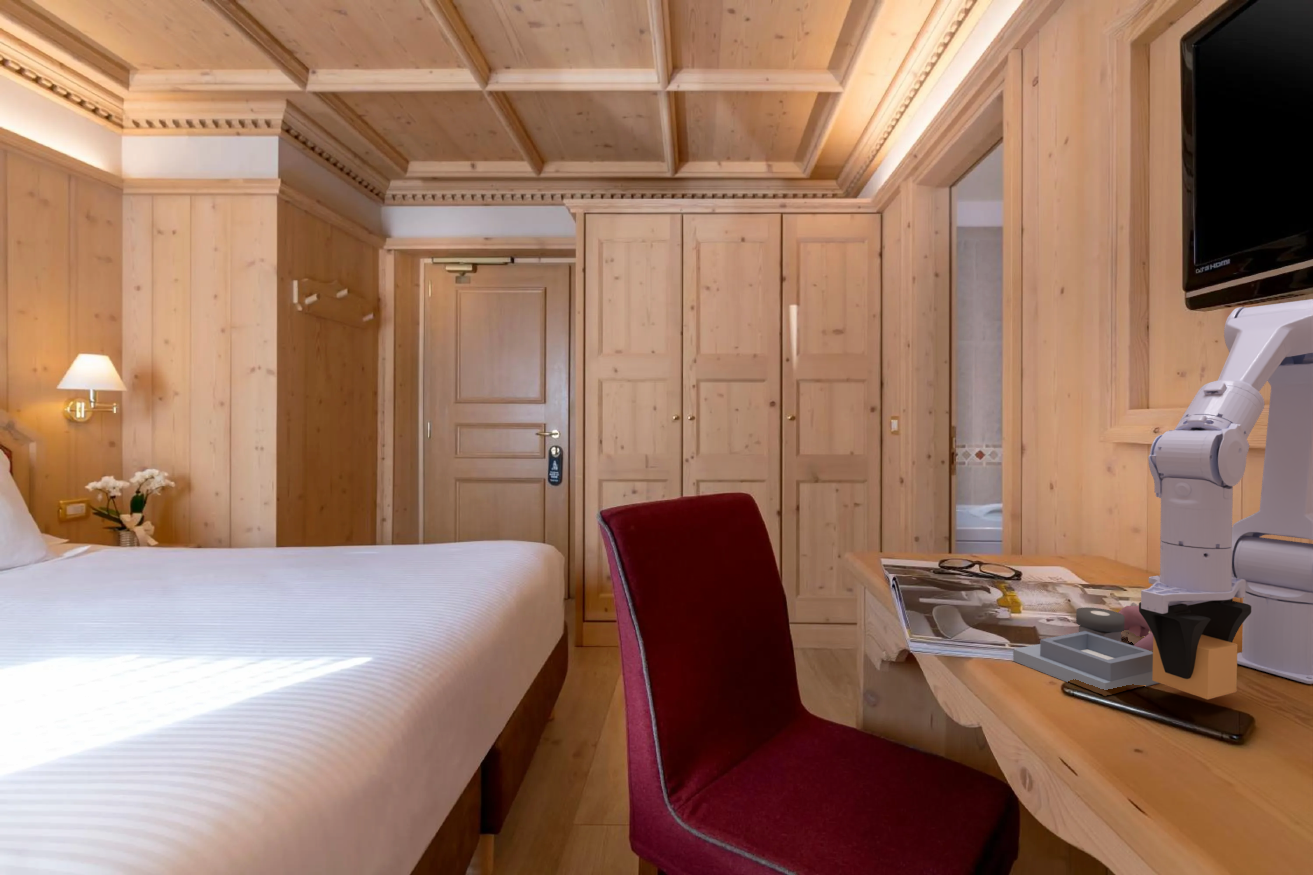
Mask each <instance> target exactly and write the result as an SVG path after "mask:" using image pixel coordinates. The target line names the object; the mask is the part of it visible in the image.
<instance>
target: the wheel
mask: <svg viewBox="0 0 1313 875" xmlns="http://www.w3.org/2000/svg"><path fill="white" fill-rule="evenodd" d="M1118 612H1119V611H1118ZM1118 612H1117V611H1113V610H1110V609H1105V608H1100V607H1089V606H1088V607H1085V606H1084V607H1079V608H1076V614H1075V615H1076V620H1075V622H1076V624H1077V625H1078V626H1082V627H1085V628H1088V629H1092V630H1097V631H1102V632H1122V631H1124V621H1125V617H1124V615H1122V614H1120V613H1118Z"/></svg>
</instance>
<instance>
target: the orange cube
mask: <svg viewBox="0 0 1313 875" xmlns="http://www.w3.org/2000/svg"><path fill="white" fill-rule="evenodd" d="M1237 653H1238V643H1235V642H1228V641H1224V640H1220V639H1217V638H1213V637H1209V636H1205V635H1201V637H1200V640H1199V643H1198V646H1197V651H1196V659H1195V665H1194V670H1193V674H1192V676H1191V678H1189V679H1184V678H1181V677H1178V676H1175V675H1172V674H1169V673H1166V672H1165V670H1164V667H1163V664H1162V661H1161V657H1160V654H1159V650H1158V647H1157V644H1156V641H1155V638H1154V636H1153V675H1152V680H1153V681H1155V682H1158V683H1157V684H1162V685H1165V686H1166V687H1167V686H1168V687H1171V688H1172V689H1175V690H1179V691H1182V692H1184V693H1187V694H1190V695H1193V696H1197V697H1199V698H1202V699H1204V700H1211V699H1215V698H1219V697H1222V696H1225V695H1229V694H1233V693H1236V692H1237V687H1238V686H1237V682H1238V678H1237V677H1238V664H1237Z"/></svg>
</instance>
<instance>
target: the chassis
mask: <svg viewBox="0 0 1313 875" xmlns="http://www.w3.org/2000/svg"><path fill="white" fill-rule="evenodd" d="M1039 640H1040V641H1039V644H1038V643H1037V644H1032V645H1028V646H1022V647H1017V648H1013V650H1012V652H1013V653H1012V654H1013V655H1012V656H1013V657H1012V660H1013V662H1015V663H1017V664H1021V665H1022V666H1024V667H1027V668H1030V669H1033V670H1036V671H1038V672H1041V673H1043V674H1046V675H1048V676H1051V677H1054V678H1055V679H1059V680H1060V681H1063V682H1066V683H1068V681H1070V680H1073V679H1074V680H1075V679H1076V680H1079V681H1081V682H1084V683H1086V684H1089V685H1093V686H1095V687H1098V688H1100V689H1104V690H1108V689H1113V688H1117V687H1122V686H1126V685H1132V684H1134V685H1146V686H1145V687H1149V686H1153V685H1157V684H1159V683H1158V682H1155V681H1153V680H1152V675H1153V652H1152V651H1149V650H1146V649H1142V648H1139V647H1136V646H1134V644H1130V643H1126V642H1122V635H1121V632H1102V631H1097V630H1092V629H1088V628H1085V627H1082V626H1080V625H1078V632H1073V633H1067V634H1062V635H1058V636H1051V637H1047V638H1043V639H1039Z"/></svg>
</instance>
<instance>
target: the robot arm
mask: <svg viewBox="0 0 1313 875" xmlns="http://www.w3.org/2000/svg"><path fill="white" fill-rule="evenodd" d="M1223 331H1224V332H1223V333H1224V335H1223V337H1224V342H1225V345H1226V348H1227V350H1228V352H1229V353H1228V356H1227V357H1226V360H1225V362H1224V365H1223V367H1222V369H1221V371H1220V374H1219V377H1218V379H1217V380H1214V381H1211V382H1208V383H1205V384H1204V385H1202V386H1201V387H1200V388H1199V389H1198V391H1197V393H1196V394H1195V396H1194V397H1193V399H1192V400H1191V402H1190V404H1189V405H1188V407H1187V408H1186V410H1185V411H1184V413H1183V415H1182V417H1181V418H1180V419H1179V422H1178V423H1177V425H1176V426H1175V428H1174V429H1169V430H1167V431H1165V432H1164V433H1163V434H1159V435H1157V436H1156V437H1155V439H1154V440H1153V441H1152V443H1151V446H1150V452H1149V455H1148V457H1147V458H1148V459H1147V460H1148V467H1149V471H1150V474H1151V476H1152V477H1153V482H1154V486H1153V487H1154V493H1155V497H1156V498H1158V499H1160V534H1159V535H1160V538H1159V540H1160V544H1159V545H1160V547H1159V548H1160V549H1159V551H1160V552H1159V553H1160V555H1159V556H1160V557H1159V558H1160V559H1159V567H1160V568H1159V575H1154V576H1153V575H1152V576H1149V577H1148V583H1149V584H1151V586H1150V587H1148V588H1145V589H1141V590H1140V602H1139V603H1138V605H1139V612H1140V613H1141V615H1142V616H1143V618H1144V619H1145V621H1146V622H1147V624H1148V626H1149V628H1150V630H1151V631H1152V634H1153V636H1154V638H1155V641H1156V644H1157V647H1158V650H1159V654H1160V657H1161V661H1162V664H1163V667H1164V670H1165V672H1166V673H1169V674H1172V675H1175V676H1178V677H1181V678H1184V679H1189V678H1191V676H1192V674H1193V670H1194V665H1195V659H1196V651H1197V646H1198V643H1199V640H1200V637H1201V635H1205V636H1209V637H1213V638H1217V639H1220V640H1224V641H1228V642H1232V643H1234V639H1235V637H1236V635H1237V633H1238V632H1239V629H1240V628H1241V626H1242V634H1241V635H1242V640H1241V641H1242V646H1241V648H1242V650H1241V652H1237V665H1241V666H1244V667H1248V668H1252V669H1254V670H1255V669H1256V670H1258V671H1262V672H1266V673H1269V674H1272V675H1275V676H1279V677H1283V678H1287V679H1290V680H1293V681H1296V682H1301V683H1303V684H1308V685H1309V684H1310V685H1312V684H1313V543H1310V542H1302V541H1293V540H1287V539H1286V540H1285V539H1277V538H1268V537H1262V536H1267V535H1268V536H1271V535H1272V536H1279V537H1280V536H1281V537H1288V538H1297V539H1304V540H1311V541H1313V298H1310V299H1305V300H1304V299H1302V300H1295V301H1288V302H1280V303H1273V304H1271V303H1270V304H1265V305H1258V306H1250V307H1246V306H1239V307H1236V308H1234V309H1233V310H1232V311H1231V312H1230V314H1229V315H1228V316H1227V318H1226V321H1225V324H1224V330H1223ZM1266 383H1268V384H1269V385H1270V396H1269V404H1268V406H1269V407H1268V414H1267V415H1268V417H1267V428H1266V437H1265V438H1266V439H1265V448H1264V458H1263V459H1264V460H1263V470H1262V481H1261V482H1262V483H1261V492H1260V500H1259V501H1260V502H1259V503H1260V504H1259V510H1258V511H1257V512H1254V513H1253V514H1251V515H1249V516H1246V517H1244V518H1242V519H1240V520H1238V521H1236V522H1234V523H1233V501H1234V500H1233V499H1234V498H1233V494H1234V493H1233V492H1234V491H1233V490H1234V488H1233V487H1234V486H1236V485H1238V484H1239V482H1240V481H1241V480H1242V478H1244V475H1245V471H1246V468H1247V467H1246V465H1247V455H1248V453H1249V450H1250V449H1249V448H1250V444H1249V441H1248V438H1249V436H1250V434H1251V432H1252V430H1253V428H1254V427H1255V426H1256V424H1257V421H1258V419H1259V418H1260V416H1261V414H1262V412H1263V411H1264V409H1265V398H1264V397H1263V395H1262V394H1261V392H1260V391H1261V390H1262V389H1263V387H1264V386H1265V385H1266ZM1234 598H1239V599H1242V602H1240V601H1235V600H1233V599H1234Z"/></svg>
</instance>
